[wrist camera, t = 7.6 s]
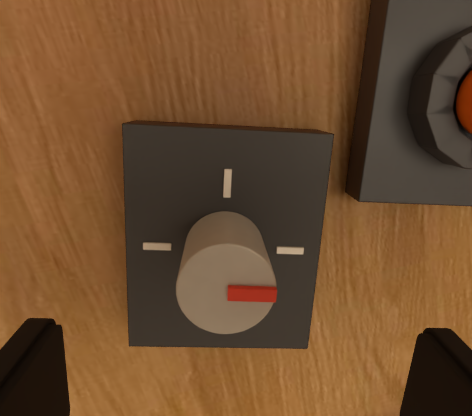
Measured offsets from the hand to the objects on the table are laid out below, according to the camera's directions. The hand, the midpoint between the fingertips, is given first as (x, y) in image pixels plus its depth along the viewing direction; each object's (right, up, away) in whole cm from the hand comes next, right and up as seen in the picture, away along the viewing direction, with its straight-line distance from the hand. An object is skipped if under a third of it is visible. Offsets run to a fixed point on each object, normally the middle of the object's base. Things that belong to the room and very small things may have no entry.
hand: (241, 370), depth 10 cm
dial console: (-1, +3, +12) cm, 13 cm away
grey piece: (+11, +10, +11) cm, 19 cm away
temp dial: (-1, +2, +9) cm, 9 cm away
